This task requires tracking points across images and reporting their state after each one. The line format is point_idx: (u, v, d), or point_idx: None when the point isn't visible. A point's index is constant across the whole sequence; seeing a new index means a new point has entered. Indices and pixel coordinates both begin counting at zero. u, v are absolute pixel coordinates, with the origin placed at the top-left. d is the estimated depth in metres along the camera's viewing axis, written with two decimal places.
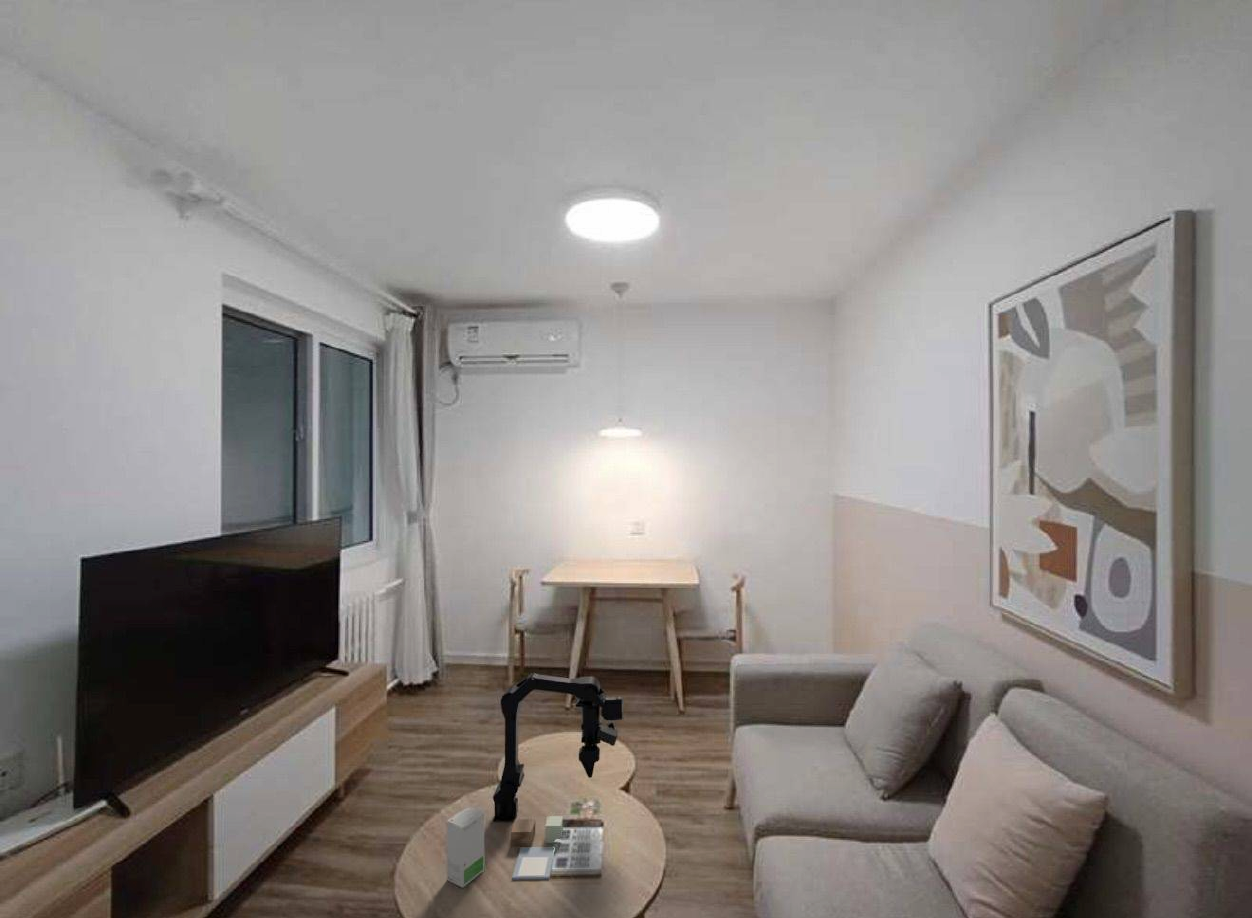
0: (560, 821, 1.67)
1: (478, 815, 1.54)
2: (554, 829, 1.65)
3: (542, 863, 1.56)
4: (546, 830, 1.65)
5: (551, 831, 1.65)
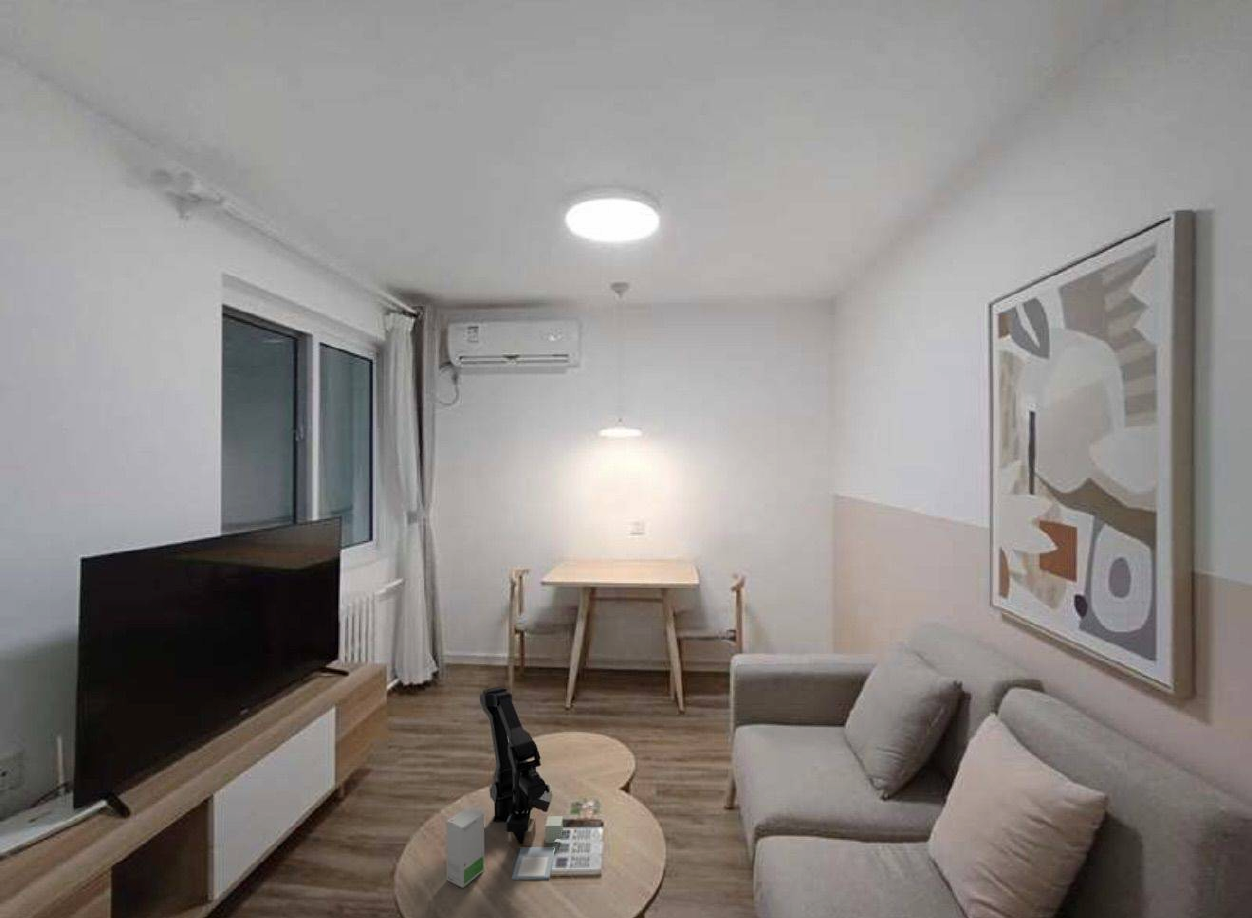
0: (560, 821, 1.67)
1: (478, 815, 1.54)
2: (554, 829, 1.65)
3: (542, 863, 1.56)
4: (546, 830, 1.65)
5: (552, 831, 1.65)
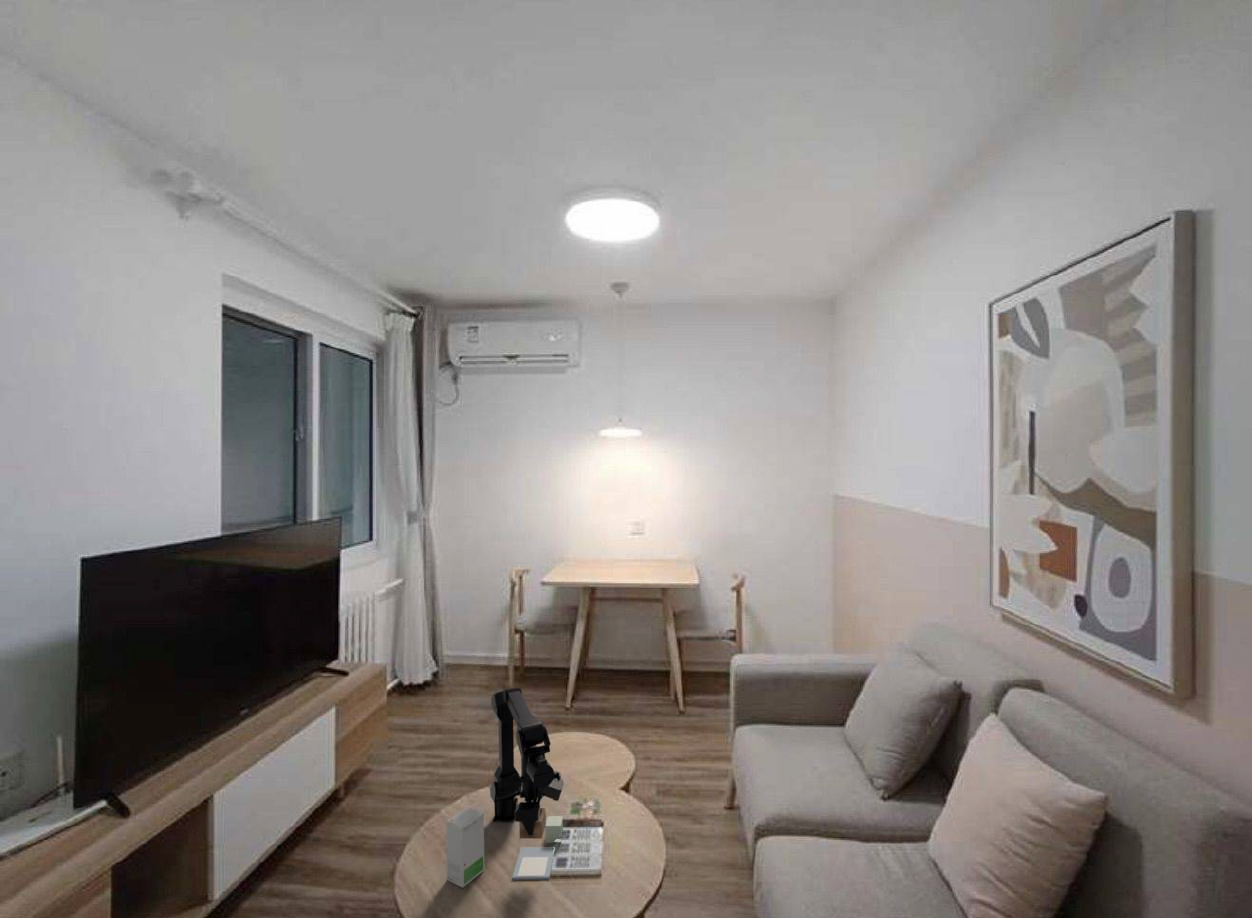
0: (560, 821, 1.67)
1: (478, 815, 1.54)
2: (554, 829, 1.65)
3: (542, 863, 1.56)
4: (546, 830, 1.65)
5: (551, 831, 1.65)
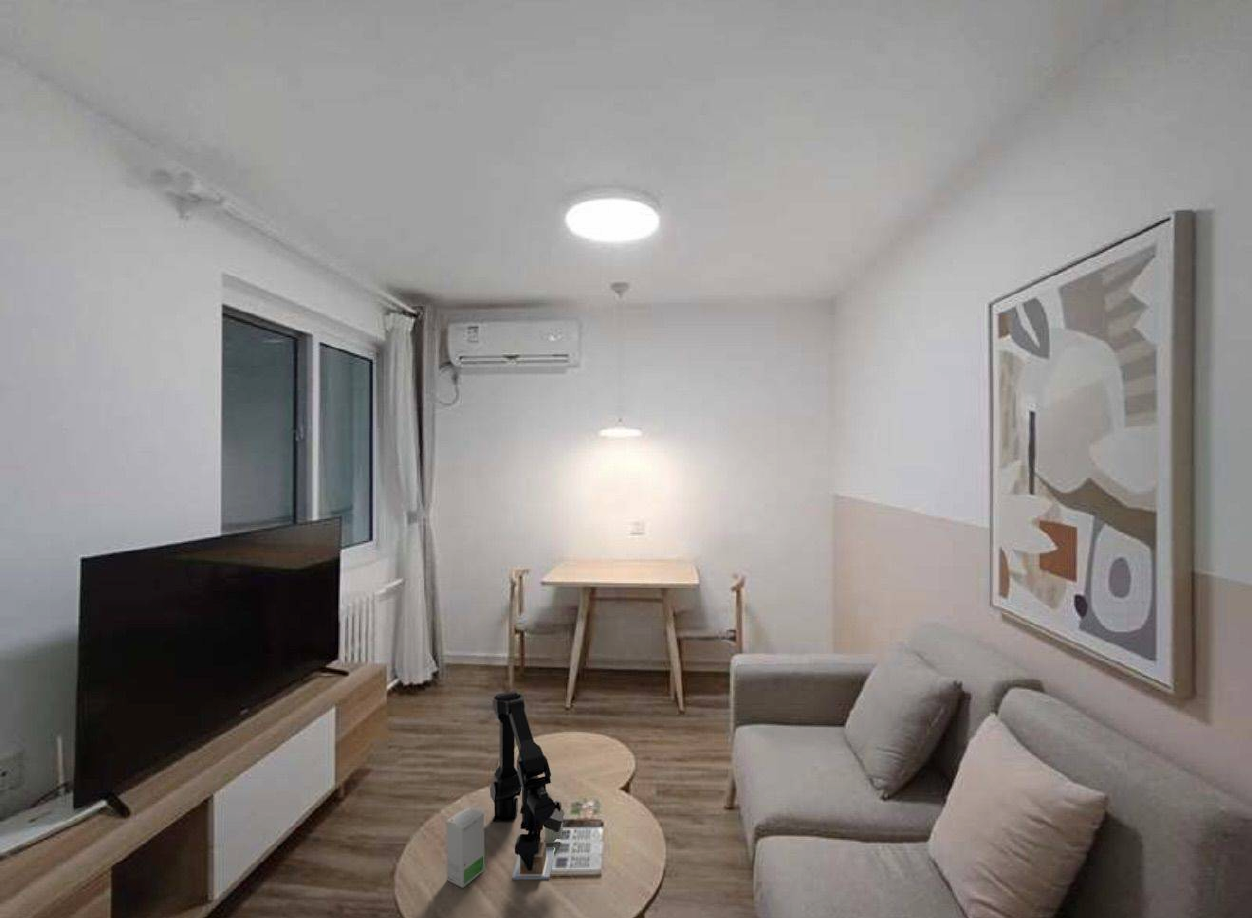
0: None
1: (478, 815, 1.54)
2: None
3: None
4: (546, 830, 1.65)
5: (552, 831, 1.65)
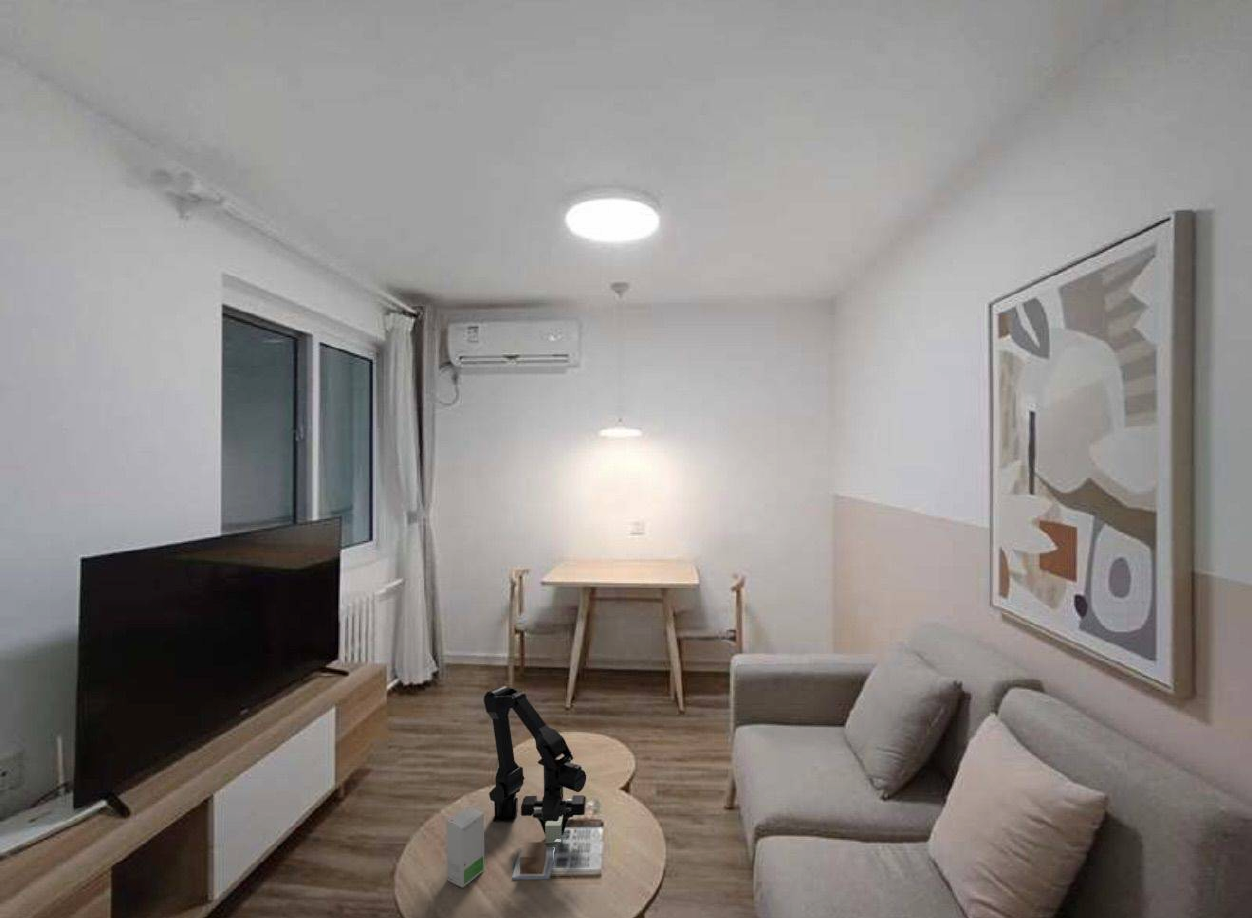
0: (560, 821, 1.67)
1: (478, 815, 1.54)
2: (554, 828, 1.65)
3: None
4: (546, 830, 1.65)
5: (551, 831, 1.65)
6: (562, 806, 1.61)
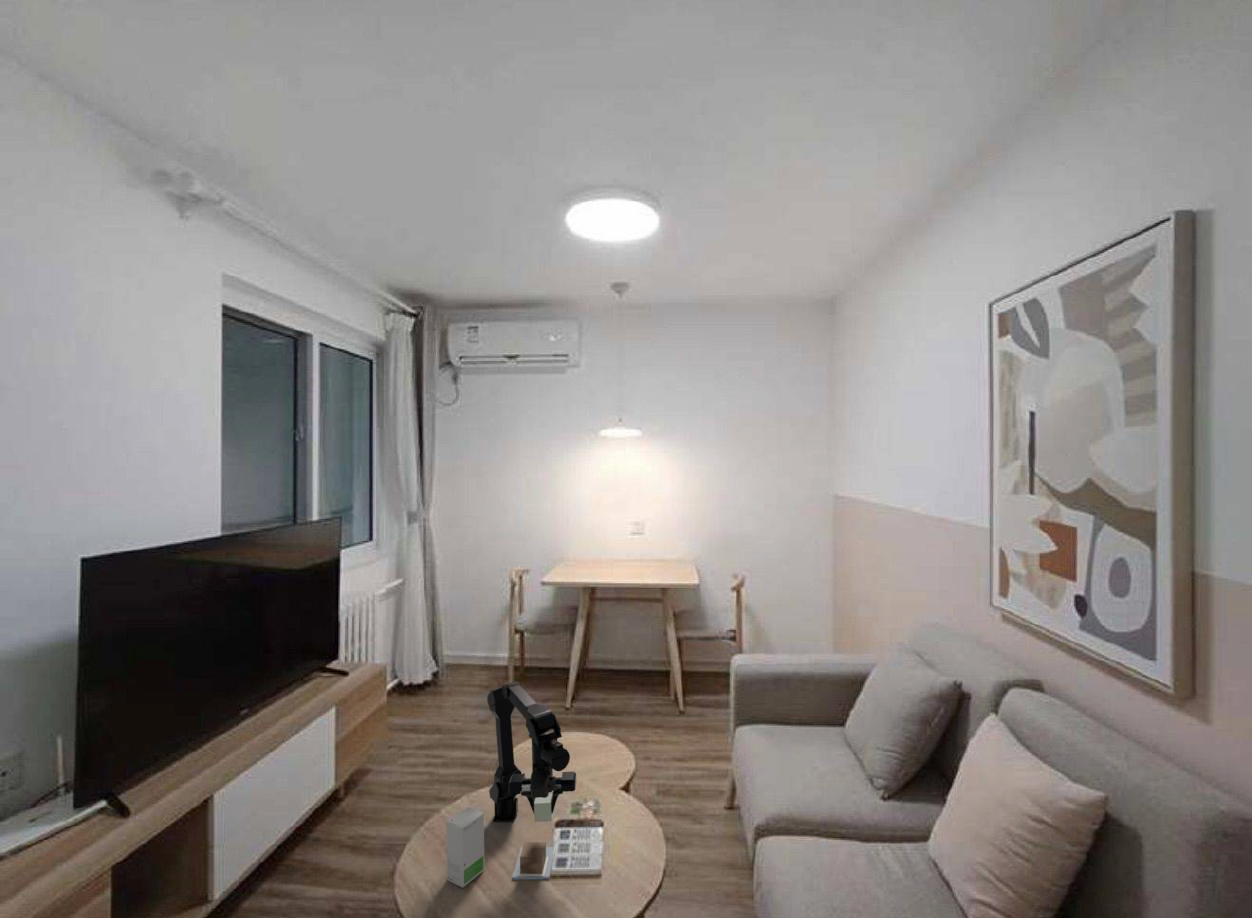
0: (549, 798, 1.60)
1: (478, 815, 1.54)
2: (543, 806, 1.58)
3: None
4: (535, 808, 1.58)
5: (541, 809, 1.58)
6: (552, 781, 1.53)
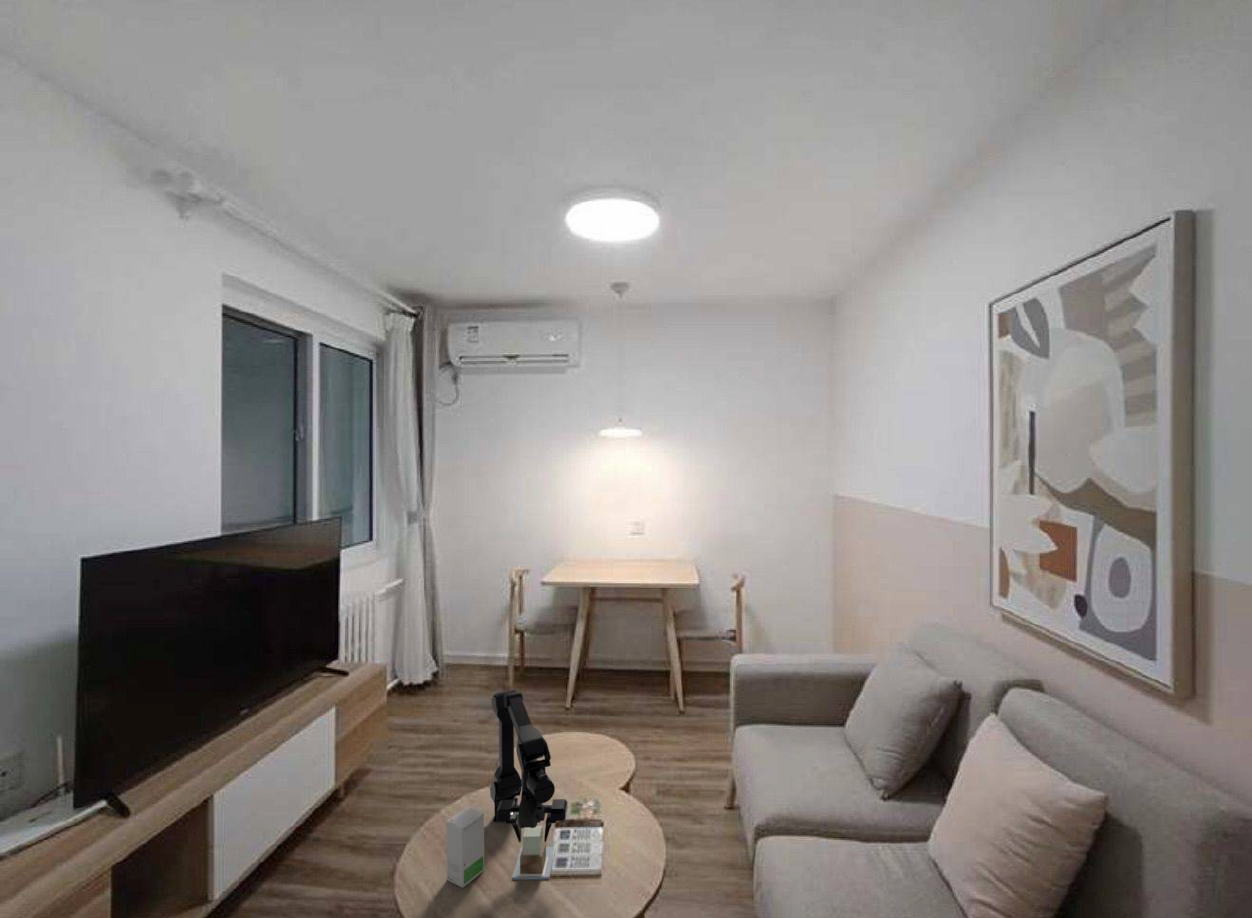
0: (539, 831, 1.55)
1: (478, 815, 1.54)
2: (532, 840, 1.53)
3: None
4: (524, 841, 1.53)
5: (530, 842, 1.53)
6: (540, 811, 1.48)
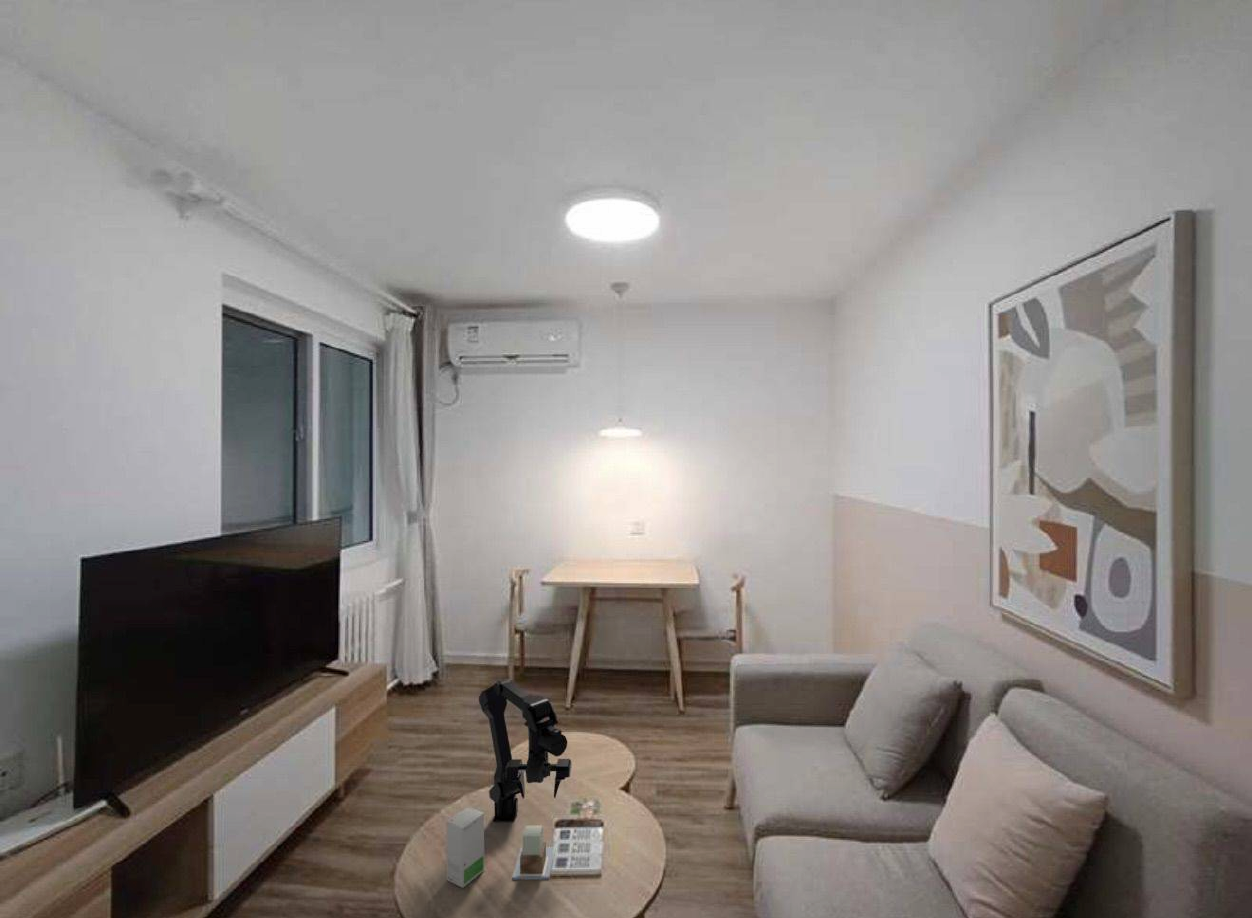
0: (539, 831, 1.55)
1: (478, 815, 1.54)
2: (532, 840, 1.53)
3: None
4: (524, 841, 1.53)
5: (530, 842, 1.53)
6: (546, 767, 1.59)
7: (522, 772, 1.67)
